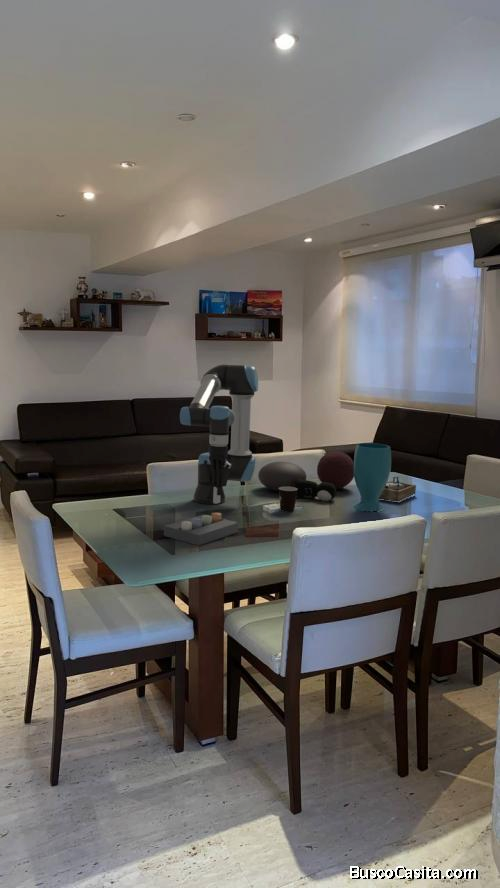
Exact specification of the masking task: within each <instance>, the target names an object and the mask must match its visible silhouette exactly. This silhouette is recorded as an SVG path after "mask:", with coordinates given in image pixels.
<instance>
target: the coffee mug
mask: <svg viewBox="0 0 500 888" xmlns="http://www.w3.org/2000/svg"><path fill="white" fill-rule="evenodd" d="M297 490H298V489H297V488H294V487H280V488H279V491H278V495H279V496H278V497H279V499H278V500H279V510H280V509H281V510H284V511H292V512H294V511H295V509H296V508H295V506H296V502H297V497H296V496H297ZM281 510H280V511H281ZM284 511H283V512H284Z"/></svg>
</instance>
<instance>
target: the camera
mask: <svg viewBox="0 0 500 888" xmlns="http://www.w3.org/2000/svg"><path fill="white" fill-rule="evenodd" d="M399 478H400V476H399V475H397V476H394V477H393V479H392V481H393V482H392V483H387V484H386V486H385V488H384V489H390V490H396V491H399V490H402V489H404V488H405V485H404V483H405V482H402V481H400V480H399ZM395 479H396V480H395Z"/></svg>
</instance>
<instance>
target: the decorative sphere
mask: <svg viewBox="0 0 500 888" xmlns="http://www.w3.org/2000/svg"><path fill="white" fill-rule="evenodd" d="M353 463H354V460H353V459H352V457H350V456H349V454H347V453H345V452H341V451H337V450H335V451H334V450H333V451H332V450H331V451H330V452H327V453H325V454H324V455H322V456H321V458H319V461H318V464H317V467H316V474H317V477H318V479H319V481H320V483H322V482H327V483H331V484H333V485H334V486H335V488H336V490H339V489H342V488H345V487H347V486H348V485H349V484H350V483H351V482H352V481H353V480H354V479H355V478H354V471H353Z"/></svg>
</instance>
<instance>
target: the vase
mask: <svg viewBox="0 0 500 888" xmlns="http://www.w3.org/2000/svg"><path fill="white" fill-rule="evenodd" d="M391 449H392V448H391V446H389V445H387V444H382V443H376V442H375V443H372V442H370V443H369V442H368V443H367V442H363V443H357V444H356V446H355V450H354V454H353V455H354V456H353V471H354V478H353V479H354V482H355V485H356V488H357V491H358V492H359V496H360V500H359V503H356V504H355V505H354V506H352V507H353V508H354V510H356V511H360V512H364V511H379V510H381V509H382V508H384V507H383V506H382V505H381V503H380V500H379V497H380V495H381V494H382V492H383V490H384V488H385V486H386V484H387V482H389V478H390V475H391V469H392V450H391Z"/></svg>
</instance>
